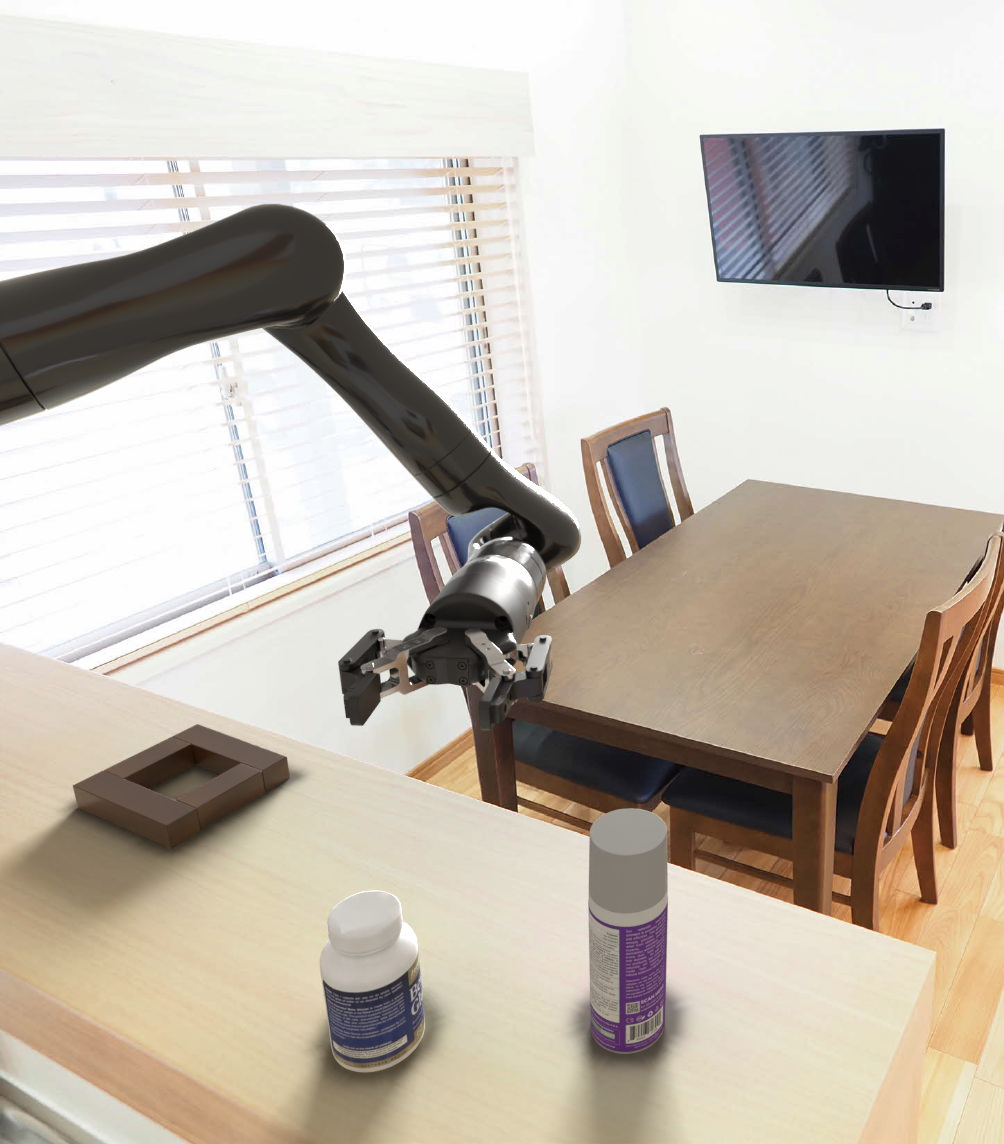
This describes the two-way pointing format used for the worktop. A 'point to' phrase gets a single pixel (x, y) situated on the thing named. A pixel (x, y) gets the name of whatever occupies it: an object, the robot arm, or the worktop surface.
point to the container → (628, 929)
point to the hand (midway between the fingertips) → (419, 716)
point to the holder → (172, 821)
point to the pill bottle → (371, 983)
